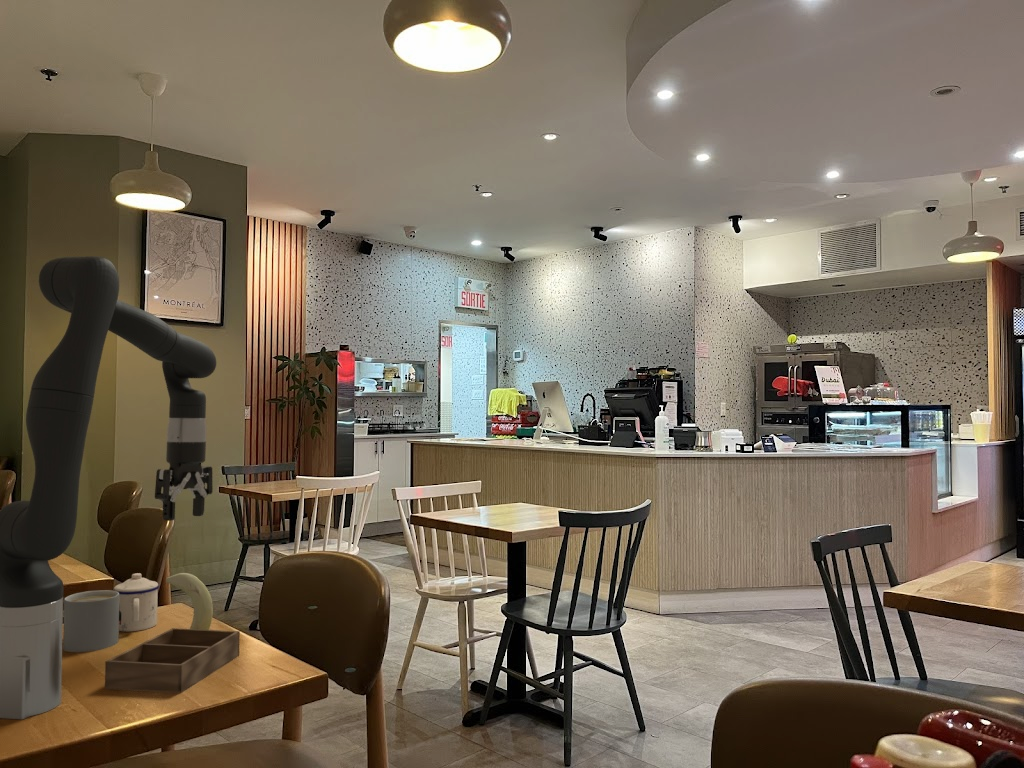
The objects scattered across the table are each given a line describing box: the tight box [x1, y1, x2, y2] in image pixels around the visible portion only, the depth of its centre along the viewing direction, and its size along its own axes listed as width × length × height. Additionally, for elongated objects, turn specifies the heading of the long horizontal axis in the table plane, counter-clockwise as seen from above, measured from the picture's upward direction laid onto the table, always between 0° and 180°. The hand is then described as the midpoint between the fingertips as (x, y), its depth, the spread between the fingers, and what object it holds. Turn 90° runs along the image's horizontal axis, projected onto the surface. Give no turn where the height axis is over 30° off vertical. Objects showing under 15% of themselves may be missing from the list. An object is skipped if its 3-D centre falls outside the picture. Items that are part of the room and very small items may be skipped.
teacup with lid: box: [112, 572, 160, 633], centre depth 167 cm, size 12×9×12 cm
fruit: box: [165, 572, 214, 630], centre depth 154 cm, size 7×15×3 cm
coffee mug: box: [62, 589, 120, 653], centre depth 157 cm, size 13×10×10 cm
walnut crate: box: [104, 628, 241, 694], centre depth 139 cm, size 20×14×5 cm
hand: (183, 518), depth 157 cm, fingers open, 8 cm apart
